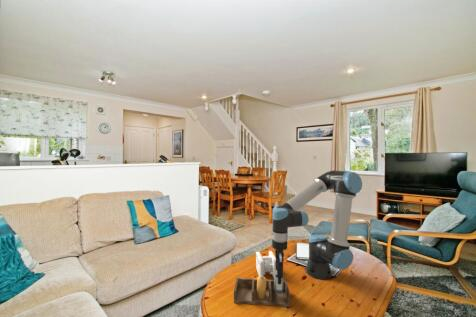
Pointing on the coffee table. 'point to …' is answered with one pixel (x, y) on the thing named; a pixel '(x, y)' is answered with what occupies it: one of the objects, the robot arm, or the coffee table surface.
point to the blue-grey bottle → (275, 284)
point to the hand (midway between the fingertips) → (278, 286)
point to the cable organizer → (265, 263)
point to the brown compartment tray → (248, 293)
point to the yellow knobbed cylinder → (261, 287)
